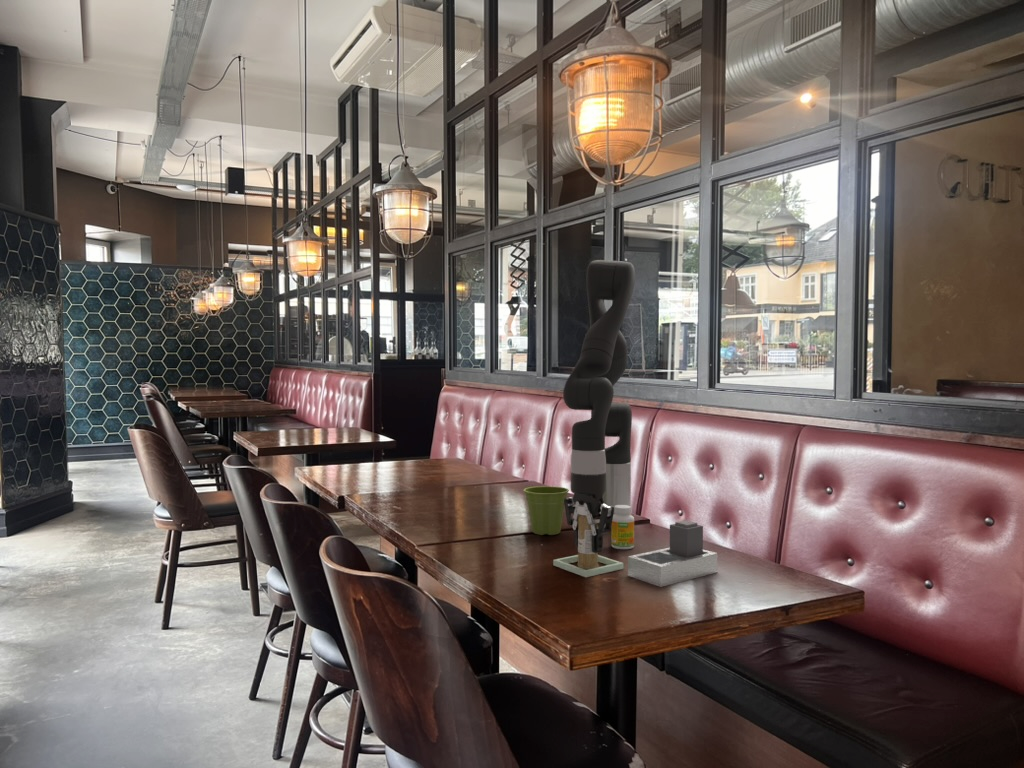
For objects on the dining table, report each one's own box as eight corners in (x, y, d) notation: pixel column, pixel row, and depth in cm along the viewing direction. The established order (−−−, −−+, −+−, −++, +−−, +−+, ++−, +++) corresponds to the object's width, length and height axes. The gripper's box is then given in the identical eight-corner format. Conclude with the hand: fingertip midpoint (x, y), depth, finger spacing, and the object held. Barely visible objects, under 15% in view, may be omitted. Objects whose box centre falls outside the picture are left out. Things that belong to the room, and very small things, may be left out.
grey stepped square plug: (669, 567, 147) (669, 521, 147) (684, 563, 150) (685, 519, 150) (687, 572, 143) (687, 526, 143) (702, 568, 146) (703, 523, 146)
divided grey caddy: (628, 575, 143) (628, 556, 143) (683, 562, 153) (684, 544, 153) (660, 587, 136) (660, 566, 136) (717, 572, 146) (717, 553, 146)
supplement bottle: (616, 550, 163) (617, 509, 163) (607, 544, 168) (607, 504, 168) (638, 548, 165) (638, 508, 164) (628, 543, 170) (628, 503, 170)
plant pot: (575, 529, 184) (575, 487, 184) (559, 540, 173) (559, 494, 173) (534, 525, 189) (534, 484, 189) (515, 535, 178) (515, 491, 178)
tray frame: (553, 565, 151) (553, 559, 151) (590, 557, 157) (590, 552, 157) (585, 577, 142) (585, 571, 142) (623, 568, 148) (623, 563, 148)
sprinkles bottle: (575, 564, 152) (575, 502, 151) (596, 563, 152) (596, 502, 152) (579, 570, 147) (579, 507, 147) (601, 569, 148) (601, 506, 147)
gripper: (624, 473, 145) (624, 554, 146) (579, 465, 157) (579, 540, 158) (597, 476, 141) (597, 559, 142) (553, 467, 153) (553, 545, 153)
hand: (588, 549), depth 150 cm, fingers open, 5 cm apart
